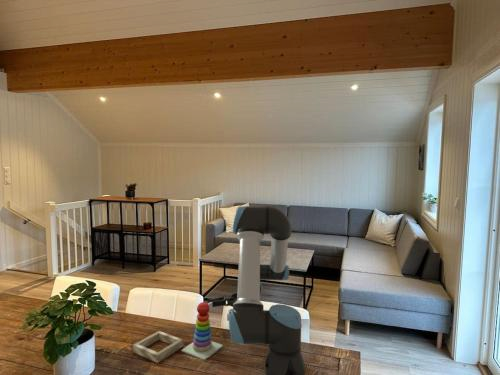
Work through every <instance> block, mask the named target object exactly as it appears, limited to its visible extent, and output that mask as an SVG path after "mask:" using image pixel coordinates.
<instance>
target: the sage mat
mask: <svg viewBox="0 0 500 375" xmlns="http://www.w3.org/2000/svg"><path fill="white" fill-rule="evenodd" d="M211 342H212V347H211V348H210V349H209V350H207V351H196V350H195V349H194V348H193V342H191V343H189V344H188V345H187V346H185V347H183V348H182V349H181V350H180V351H181V352H183V353H185V354H186V355H190V356H192V357H195V358H198V359H200V360H202V361H206V360H207V359H208V358H210V357H211V356H212V355H214V354H215V353H216V352H219V350H221V349H222V348H223V347H224V345H223V344H222V343H218V342H216V341H212V340H211Z"/></svg>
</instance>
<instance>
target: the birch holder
mask: <svg viewBox="0 0 500 375" xmlns="http://www.w3.org/2000/svg"><path fill="white" fill-rule="evenodd" d="M158 341H161V342H164V343H166V344H169V345H167V346H166V347H164V348H162V349H160V351H155V350H153V349H150V348H148V347H149V346H150V345H153V344H154V343H155V342H158ZM181 348H184V339H183V338H180V337H178V336H174V335H172V334H169V333H166V332H163V331H161V330H157V331H156V332H154V333H153V334H150V335H148V336H147V337H144V338H143V339H142V340H140V341H137V342H135V343H134V344H132V353H134V354H137V355H139V356H140V357H143V358H146V359H147V360H150V361H151V362H154V363H160V362H162V361H163V360H164V359H166V358H168V357H169V356H171V355H172V354H174V353H176V352H177V351H179V350H180V349H181Z"/></svg>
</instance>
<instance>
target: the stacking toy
mask: <svg viewBox="0 0 500 375" xmlns="http://www.w3.org/2000/svg"><path fill="white" fill-rule="evenodd" d="M196 311H197V315H196V320H195V323H196V324H195V328H194V329H195V330H194V335H193V339H192V343H193V348H194V349H195V350H196V351H207V350H209V349H210V348H211V347H212V342H211V341H212V332H211V323H210V319H209V318H210V315H209V312H210V310H209V305H208V302H205V301H202V302H200V303H198V304H197V307H196Z"/></svg>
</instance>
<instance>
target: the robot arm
mask: <svg viewBox="0 0 500 375" xmlns="http://www.w3.org/2000/svg"><path fill="white" fill-rule="evenodd" d="M232 224H233V226H232V232H233V234H235V237H236V239H238V242H239V247H238V251H239V252H238V267H237V268H238V269H237V270H238V272H237V273H238V274H237V290H236V291H235V292H233V293H232V295H231V296H230V297H227V296H226V295H222V296H218V297H215V298H209V299H207V304H208V305H209V311H210V310H212V309H213V307H214V308H215V307H222V306H224V307H232V308H230V309H229V310H228V313H227V315H226V316H227V317H226V318H227V319H226V320H227V321H228V325H229V326H228V327H229V335H230V340H231V342H233V343H234V344H242V345H269V346H268V350H267V354H266V356H265V359H264V363H263V370H264V374H265V375H306V364H305V363H306V362H305V361H304V357H303V354H302V351H301V349H302V327H303V326H302V325H303V324H302V315H301V313H300V312H299V310H297V309H296V308H294V307H292V306H290V305H287V304H281V303H280V304H272V305H270V307H269V309H268V310H267V309H264V304H263V303H262V302H261V300H260V299H261V297H260V295H262V294H263V292H264V286H263V285H262V283H261V280H263V281H264V280H265V281H287V280H289V278H290V267H289V265H288V264H287V255H288V245H289V244H288V243H289V239H290V237H291V235H292V230H293V229H292V223H291V221H290V219H289V217H288V216H287V214H286V213H285V212H284V211H282V209H279V208H277V207H274V206H252V205H251V206H248V205H246V206H238V207H237V208H236V210H235V213H234V218H233V223H232ZM265 235H269V236H270V238H271V240H270V241H271V243H270V261H269V262H270V263H269V264H262V263H261V241H262V240H264V237H265Z"/></svg>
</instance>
